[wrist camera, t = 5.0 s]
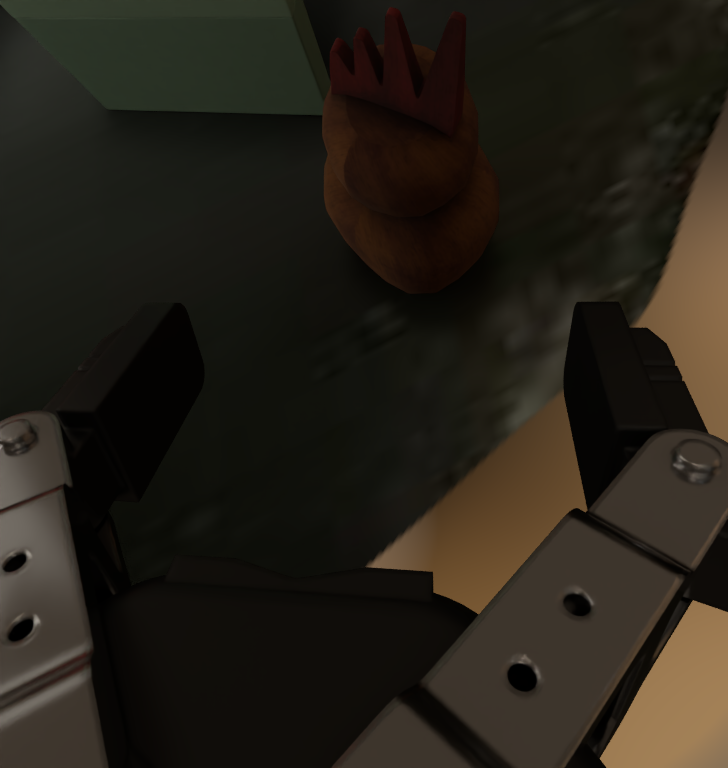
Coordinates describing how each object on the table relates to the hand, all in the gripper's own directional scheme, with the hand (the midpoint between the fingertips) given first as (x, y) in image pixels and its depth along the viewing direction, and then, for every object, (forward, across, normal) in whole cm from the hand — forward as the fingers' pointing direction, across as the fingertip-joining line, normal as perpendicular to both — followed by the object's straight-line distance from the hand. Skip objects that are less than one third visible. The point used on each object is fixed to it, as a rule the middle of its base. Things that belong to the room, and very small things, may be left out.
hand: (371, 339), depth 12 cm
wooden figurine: (+15, 0, +5) cm, 16 cm away
